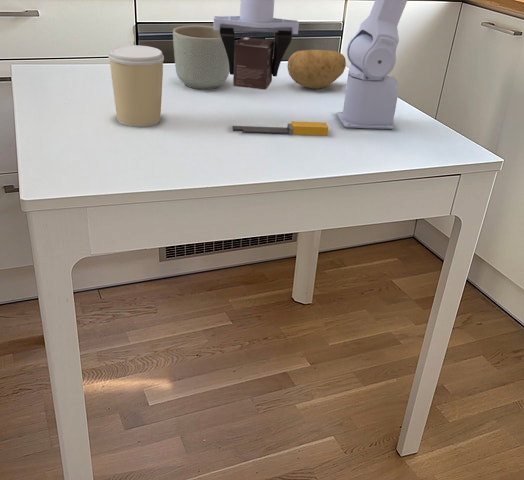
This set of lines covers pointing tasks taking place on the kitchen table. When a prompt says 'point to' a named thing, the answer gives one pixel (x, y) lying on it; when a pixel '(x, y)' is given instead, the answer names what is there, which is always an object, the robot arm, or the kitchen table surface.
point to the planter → (200, 56)
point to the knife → (289, 129)
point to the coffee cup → (137, 84)
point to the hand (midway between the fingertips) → (253, 74)
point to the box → (253, 63)
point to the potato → (316, 67)
